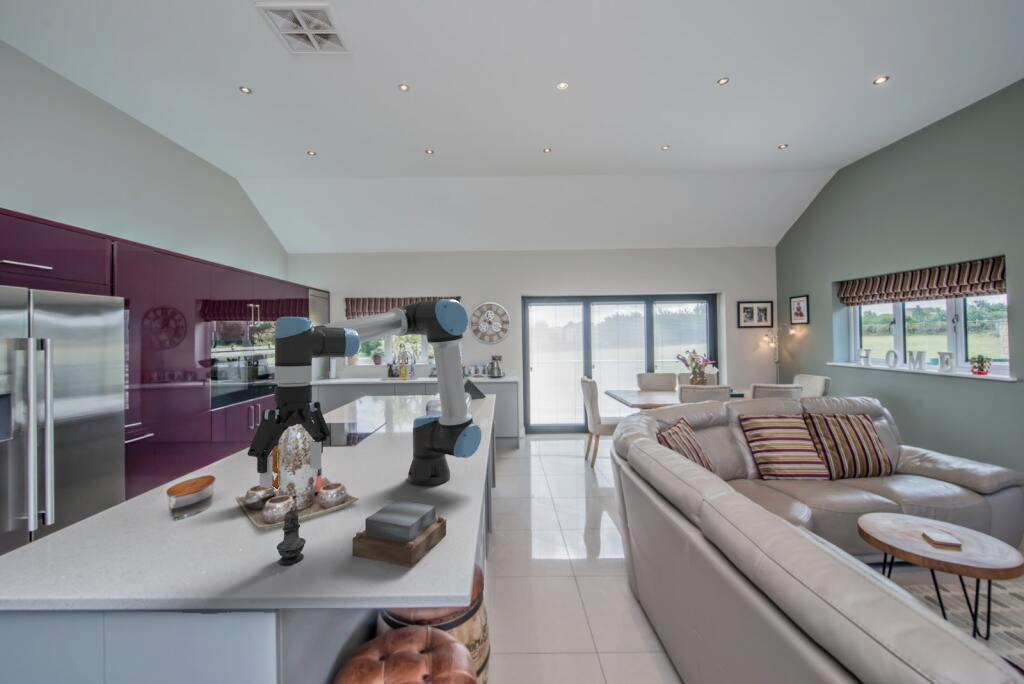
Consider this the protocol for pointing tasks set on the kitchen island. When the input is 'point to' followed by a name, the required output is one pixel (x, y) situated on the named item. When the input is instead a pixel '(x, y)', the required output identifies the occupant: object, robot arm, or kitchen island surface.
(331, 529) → the kitchen island surface
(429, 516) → the sharpening stone holder
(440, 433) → the robot arm
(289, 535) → the dark grey tall piece
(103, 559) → the kitchen island surface
